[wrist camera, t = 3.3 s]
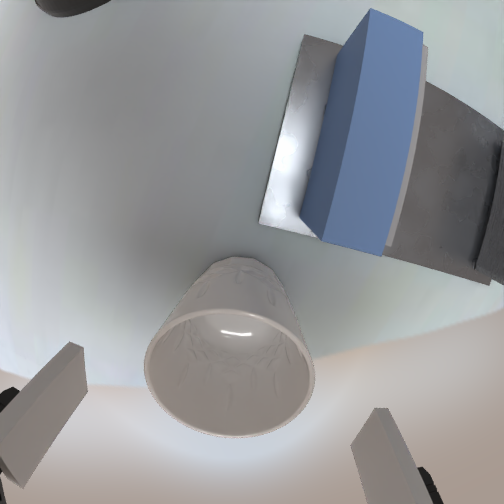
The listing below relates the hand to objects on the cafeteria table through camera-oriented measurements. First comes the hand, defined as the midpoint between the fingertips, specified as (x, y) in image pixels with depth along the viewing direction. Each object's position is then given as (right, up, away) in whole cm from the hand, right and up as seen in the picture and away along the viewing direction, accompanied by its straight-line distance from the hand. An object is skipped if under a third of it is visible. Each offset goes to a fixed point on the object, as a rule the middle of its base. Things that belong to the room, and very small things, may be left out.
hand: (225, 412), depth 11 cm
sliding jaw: (+7, +14, +7) cm, 17 cm away
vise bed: (+14, +13, +8) cm, 21 cm away
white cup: (0, +3, +11) cm, 12 cm away
